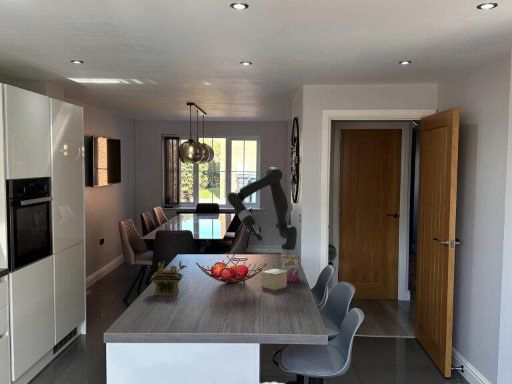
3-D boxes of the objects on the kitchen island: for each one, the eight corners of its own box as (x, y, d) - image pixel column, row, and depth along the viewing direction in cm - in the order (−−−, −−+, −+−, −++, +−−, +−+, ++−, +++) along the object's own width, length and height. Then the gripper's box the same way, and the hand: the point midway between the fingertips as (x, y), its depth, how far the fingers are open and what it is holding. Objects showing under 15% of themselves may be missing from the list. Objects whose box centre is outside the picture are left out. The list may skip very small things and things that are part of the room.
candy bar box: (280, 281, 302) (281, 256, 301) (281, 279, 307) (281, 254, 306) (298, 282, 301) (298, 256, 300) (298, 280, 306) (299, 255, 305)
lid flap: (274, 269, 294) (274, 268, 294) (286, 271, 288) (286, 270, 288) (261, 272, 285) (262, 271, 285) (274, 275, 279) (274, 274, 279)
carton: (273, 284, 295) (274, 269, 295) (286, 286, 289) (286, 272, 288) (261, 287, 286) (261, 272, 285) (274, 290, 279) (274, 275, 279)
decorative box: (150, 295, 263) (150, 260, 262) (153, 291, 273) (154, 257, 272) (186, 296, 263) (186, 261, 262) (188, 291, 273) (188, 258, 272)
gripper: (242, 215, 293) (257, 237, 286) (256, 214, 303) (271, 235, 296) (236, 223, 297) (250, 244, 290) (250, 221, 307) (264, 242, 300)
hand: (260, 239), depth 293 cm, fingers closed
